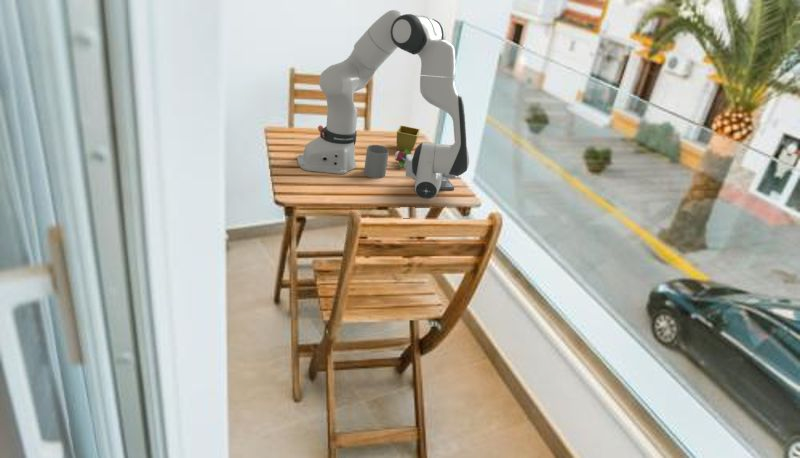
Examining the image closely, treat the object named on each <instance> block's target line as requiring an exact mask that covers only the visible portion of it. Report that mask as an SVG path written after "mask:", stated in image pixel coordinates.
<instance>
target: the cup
mask: <svg viewBox="0 0 800 458" xmlns="http://www.w3.org/2000/svg"><path fill="white" fill-rule="evenodd" d="M389 153H390V150H389V148H387V147H386V146H383V145H379V144H370V145H368V146H366V152H365V161H364V168H363V173H364V175H365V176H367V177H369V178H372V179H382V178H384V177H386V172H387V167H388V160H389Z"/></svg>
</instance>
